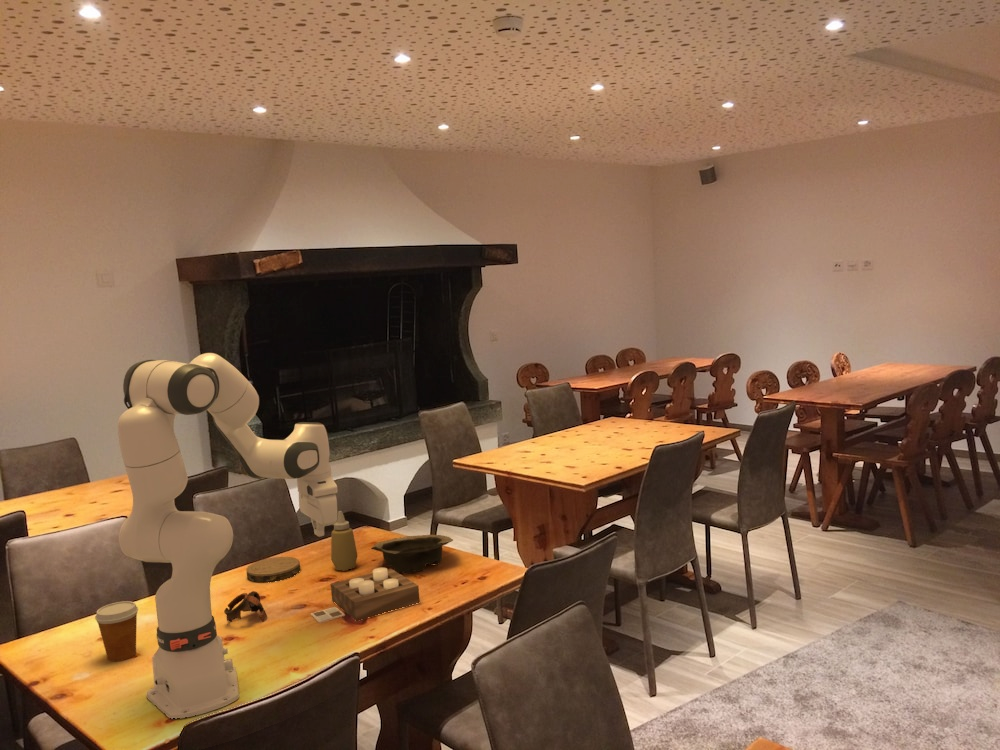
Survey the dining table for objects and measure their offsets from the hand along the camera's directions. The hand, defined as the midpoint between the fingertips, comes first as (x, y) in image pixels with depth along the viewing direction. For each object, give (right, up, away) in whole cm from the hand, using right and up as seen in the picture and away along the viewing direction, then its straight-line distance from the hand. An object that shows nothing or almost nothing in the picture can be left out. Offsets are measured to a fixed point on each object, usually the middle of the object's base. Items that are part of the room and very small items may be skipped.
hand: (319, 535), depth 213 cm
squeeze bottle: (-1, -18, +39) cm, 43 cm away
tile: (+2, -21, +2) cm, 22 cm away
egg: (+8, -19, +10) cm, 23 cm away
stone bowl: (+21, -17, +39) cm, 47 cm away
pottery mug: (-19, -23, +3) cm, 30 cm away
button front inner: (+12, -18, +4) cm, 22 cm away
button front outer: (+18, -19, +7) cm, 27 cm away
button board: (+13, -20, +9) cm, 25 cm away
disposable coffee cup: (-45, -27, -15) cm, 54 cm away
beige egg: (+14, -17, +13) cm, 26 cm away
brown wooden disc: (-22, -20, +39) cm, 49 cm away
